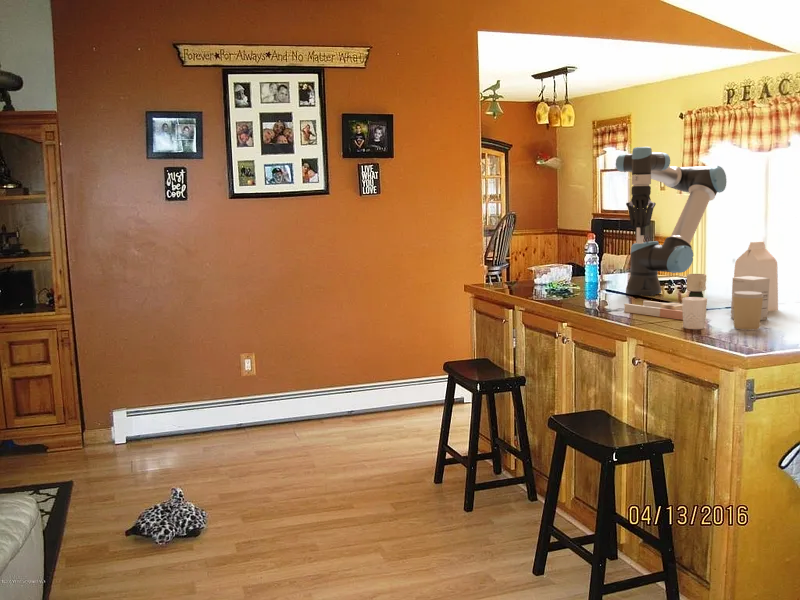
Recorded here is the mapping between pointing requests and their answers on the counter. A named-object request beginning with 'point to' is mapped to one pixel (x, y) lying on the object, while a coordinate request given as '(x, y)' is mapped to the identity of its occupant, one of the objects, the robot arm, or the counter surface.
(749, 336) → the counter surface
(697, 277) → the character mug
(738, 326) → the coffee cup
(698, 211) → the robot arm
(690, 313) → the white cup
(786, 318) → the counter surface
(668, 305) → the maple block
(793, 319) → the counter surface
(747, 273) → the milk
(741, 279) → the supplement box
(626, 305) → the channel
